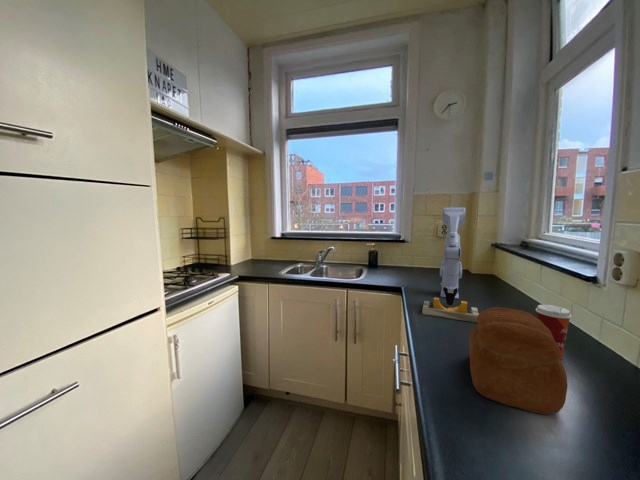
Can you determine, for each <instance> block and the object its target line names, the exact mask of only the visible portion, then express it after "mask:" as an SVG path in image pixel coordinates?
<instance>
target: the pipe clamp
mask: <svg viewBox="0 0 640 480" xmlns="http://www.w3.org/2000/svg"><path fill="white" fill-rule="evenodd" d="M432 308H437V309H444V310H450V311H457V312H464V313H468V302H467V300H466V301H465V300H461V303H460V305H458V306H455V307H445V306H444V305H443V304H442V303H441V300H440V297H436V296H435V297H433V304H432Z"/></svg>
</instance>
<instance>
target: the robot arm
mask: <svg viewBox="0 0 640 480" xmlns="http://www.w3.org/2000/svg"><path fill="white" fill-rule="evenodd" d="M441 214H442V216H441V217H442V225H444V226H446V227H447V234H445V244H444V248H443V259H442V260H441V261H440V266H439V276H440V277H441V278H442V281H441V282H440V286H441V290H440V297H442V298H444V297H445V302H446V305H447V306H453V305H454V301H455V299H460V297H459V296H460V295H459V280H460V279H462V278H463V277H462V276H463V264H462V262H461V260H462V259H461V258H462V247H461V235H460V234H459V233H458V230H459V228H460V227H461V226H463V225H464V223H465V219H466V207H465V206H464V207H463V206H462V207H443V208H442V213H441Z"/></svg>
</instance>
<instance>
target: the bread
mask: <svg viewBox="0 0 640 480" xmlns="http://www.w3.org/2000/svg"><path fill="white" fill-rule="evenodd" d="M478 313H479V315H478V316H477V320H478V323H476V324H475V325H474V326H473V327H472V328H471V330H470V332H469V339H468V345H469V368H470V375H471V381H472V384H473V387H474V389H475V390H476V391H477V393H479V394H480V395H481V396H483V397H485V398H486V399H489V400H492V401H494V402H497V403H499V404H503V405H505V406H510V407H514V408H517V409H520V410H523V411H527V412H531V413H536V414H542V415H553V414H557V413H559V412H560V411H561V410H562V409H563V407H564V405H565V404H566V400H567V398H566V397H567V393H568V376H567V373H566V369H565V367H564V365H563V362H562V361H561V360H560V359H559V356H560V348H559V347H558V345H557V343H556V342H555V340H554V338H553V336H552V333H551V331H550V330H549V329H548V328H547V327H546V326H545V325H544V324H543V323H542V322H541V321H540V320H539V319H538V318H537V316H535V315H534V314H531V313H530V312H527V311H524V310H520V309H516V308H515V309H514V308H508V307H500V306H497V307H496V306H495V307H494V306H493V307H489V308H486V309H484V310H482V311H480V312H478Z"/></svg>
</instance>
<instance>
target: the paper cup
mask: <svg viewBox="0 0 640 480" xmlns="http://www.w3.org/2000/svg"><path fill="white" fill-rule="evenodd" d="M535 312H536V318H538V319H539V320H540V321H541V322H542V323H543V324H544V325H545V326H546V327H547V328H548V329H549V330H550V331H551V333H552V336H553V338H554V340H555V342H556V343H557V345H558V347H559V348H560V356H559V359H560V361H561V360H562V359H563V356H564V351H565V347H566V346H565V345H566V340H567V335H568V330H569V324H570V320H571V318H572V315H571V312H570V310H569V309H567V308H564V307H561V306H557V305H552V304H538V305H537V307H536V308H535Z"/></svg>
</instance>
